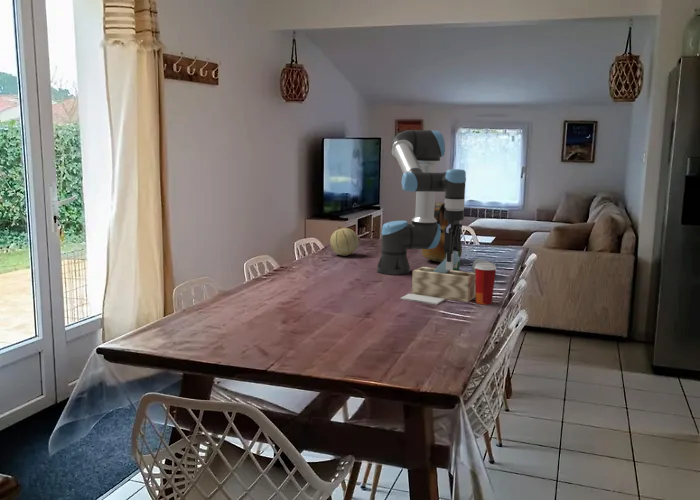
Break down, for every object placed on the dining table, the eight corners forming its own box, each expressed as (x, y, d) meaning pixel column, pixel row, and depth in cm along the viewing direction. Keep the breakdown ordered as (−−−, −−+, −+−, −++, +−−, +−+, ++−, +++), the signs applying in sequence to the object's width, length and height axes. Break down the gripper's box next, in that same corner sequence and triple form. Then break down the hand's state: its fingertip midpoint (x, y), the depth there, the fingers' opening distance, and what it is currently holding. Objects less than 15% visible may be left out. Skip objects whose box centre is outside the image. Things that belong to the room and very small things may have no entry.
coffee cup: (495, 301, 250) (498, 263, 248) (493, 306, 243) (495, 267, 240) (474, 299, 253) (476, 261, 250) (470, 304, 245) (472, 265, 243)
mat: (409, 295, 258) (409, 293, 258) (444, 300, 250) (444, 298, 250) (400, 299, 251) (400, 297, 251) (436, 304, 244) (436, 303, 243)
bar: (461, 258, 254) (454, 251, 255) (457, 260, 251) (450, 253, 252) (433, 287, 262) (426, 280, 263) (429, 289, 259) (422, 282, 260)
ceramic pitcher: (467, 260, 330) (470, 202, 324) (451, 267, 313) (454, 205, 308) (432, 256, 340) (434, 199, 335) (414, 262, 323) (416, 202, 318)
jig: (475, 296, 257) (477, 273, 255) (467, 302, 248) (468, 277, 246) (421, 289, 268) (422, 266, 266) (411, 294, 259) (412, 270, 258)
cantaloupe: (358, 258, 331) (358, 229, 329) (329, 257, 332) (329, 228, 329) (358, 253, 346) (358, 225, 343) (330, 252, 346) (331, 224, 343)
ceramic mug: (487, 279, 289) (488, 262, 287) (470, 276, 294) (471, 259, 292) (497, 275, 297) (498, 259, 296) (481, 273, 302) (482, 256, 300)
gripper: (452, 206, 260) (450, 263, 264) (436, 211, 245) (434, 271, 249) (470, 208, 256) (467, 265, 260) (455, 212, 241) (452, 273, 246)
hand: (451, 268), depth 255 cm, fingers closed on bar, 4 cm apart
